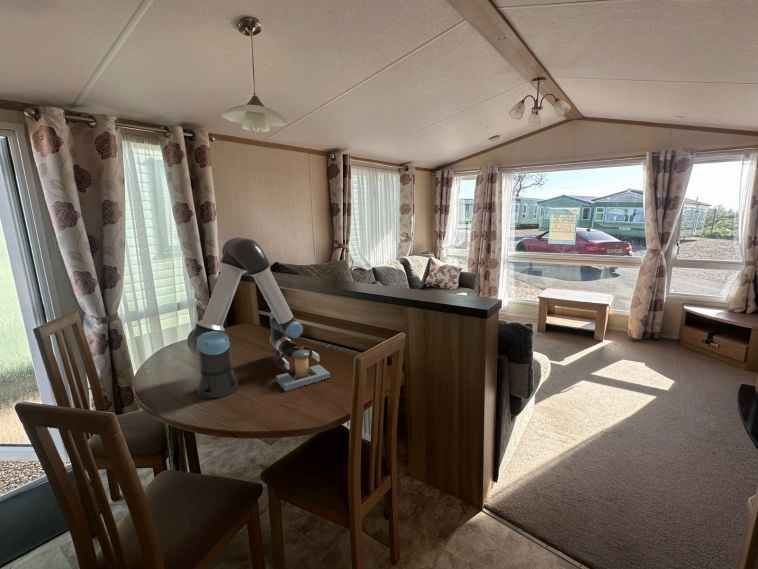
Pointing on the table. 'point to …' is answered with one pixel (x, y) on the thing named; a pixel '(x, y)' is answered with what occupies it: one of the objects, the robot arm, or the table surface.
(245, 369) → the table surface
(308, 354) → the bobbin
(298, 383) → the notched board
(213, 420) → the table surface
